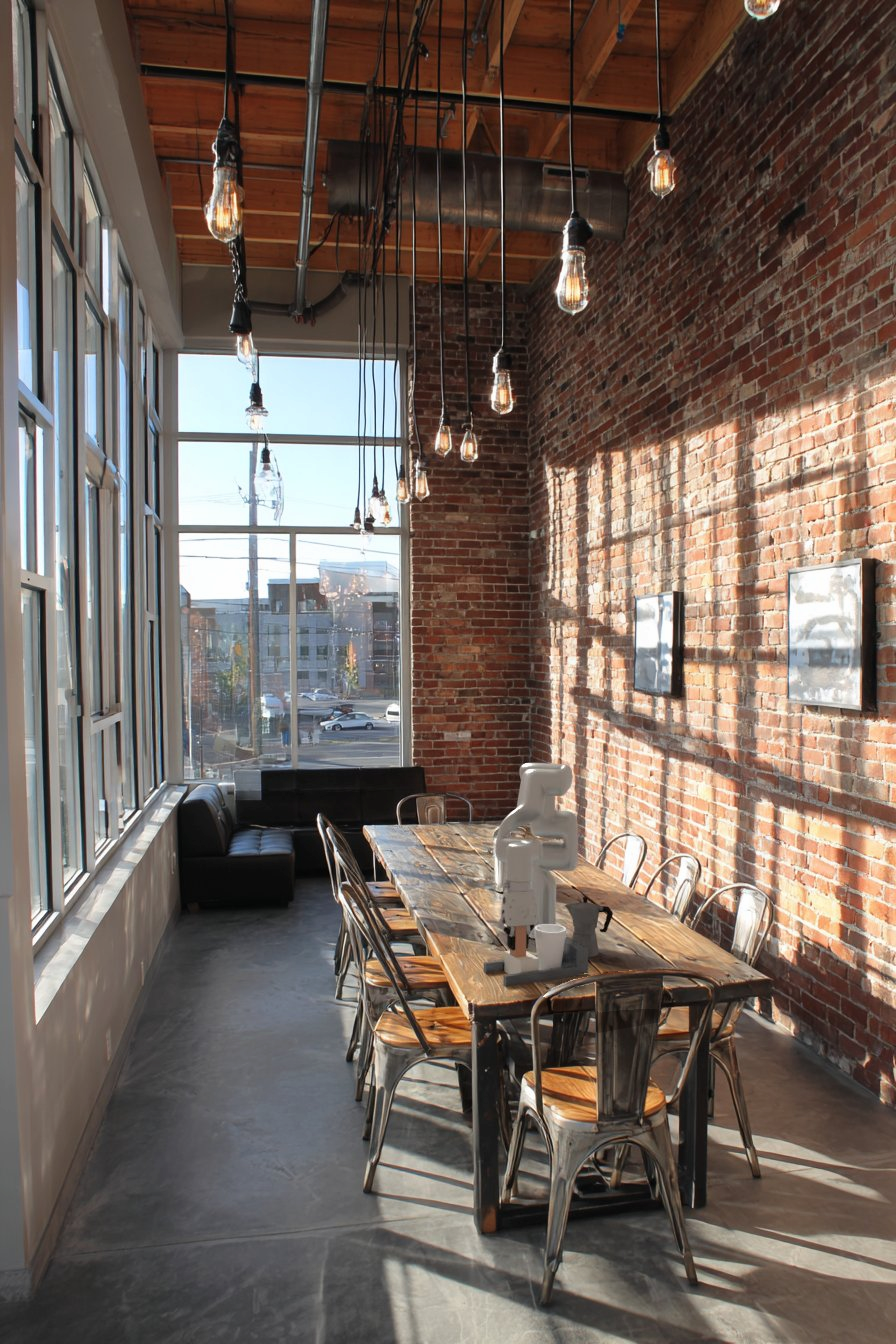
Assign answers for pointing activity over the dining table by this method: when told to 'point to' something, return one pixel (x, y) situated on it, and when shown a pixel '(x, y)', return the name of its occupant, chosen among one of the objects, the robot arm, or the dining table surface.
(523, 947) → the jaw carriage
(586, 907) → the coffeepot
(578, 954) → the grey frame
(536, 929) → the foam cup
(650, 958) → the dining table surface
